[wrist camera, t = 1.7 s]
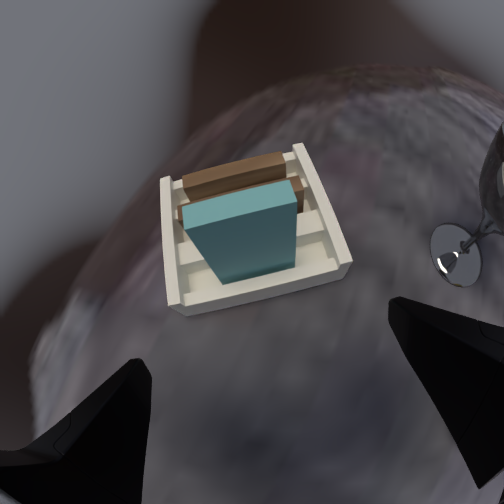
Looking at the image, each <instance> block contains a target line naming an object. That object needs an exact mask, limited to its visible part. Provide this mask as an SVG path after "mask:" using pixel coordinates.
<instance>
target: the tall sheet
mask: <svg viewBox="0 0 504 504" xmlns="http://www.w3.org/2000/svg"><path fill="white" fill-rule="evenodd" d="M182 214H183V224H184V230H185V232H186V233H187V235H188V236H189V238H190V239H191V241H192V242H193V244H194V245H195V246H196V248H197V249H198V251H199V252H200V254H201V255H202V256H203V258H204V259H205V261H206V262H207V264H208V265H209V266H210V268H211V269H212V271H213V272H214V273H215V275H216V276H217V278H218V279H219V280H220V282H221V283H222V285H226V284H230V283H234V282H238V281H242V280H247V279H251V278H255V277H259V276H263V275H267V274H271V273H275V272H279V271H283V270H287V269H291V268H295V258H296V232H297V199H296V196H295V194H294V191H293V188H292V186H291V183H290V180H285V181H281V182H276V183H272V184H268V185H263V186H259V187H255V188H251V189H247V190H243V191H239V192H235V193H231V194H227V195H223V196H219V197H215V198H212V199H208V200H204V201H201V202H197V203H193V204H190V205H186V206H183V207H182Z"/></svg>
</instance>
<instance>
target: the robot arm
mask: <svg viewBox="0 0 504 504" xmlns="http://www.w3.org/2000/svg"><path fill="white" fill-rule="evenodd" d="M388 321H389V324H390V326H391V328H392V330H393V332H394V334H395V336H396V338H397V340H398V342H399V345H400V347H401V349H402V351H403V353H404V355H405V357H406V358H407V360H408V362H409V363H410V365H411V366H412V368H413V369H414V371H415V373H416V374H417V376H418V378H419V379H420V381H421V382H422V384H423V386H424V387H425V389H426V391H427V392H428V394H429V396H430V397H431V399H432V401H433V403H434V404H435V406H436V408H437V409H438V411H439V413H440V415H441V417H442V418H443V420H444V422H445V424H446V426H447V427H448V429H449V431H450V433H451V435H452V437H453V438H454V440H455V442H456V444H457V446H458V448H459V450H460V452H461V454H462V456H463V458H464V460H465V462H466V464H467V466H468V468H469V470H470V473H471V475H472V477H473V479H474V481H475V483H476V485H477V487H478V489H481V488H482V487H483V486H485V485H486V484H487V483H489V482H490V481H491V480H493V479H494V478H495V477H496V476H498V475H499V474H500V473H501V472H503V471H504V327H500V326H496V325H492V324H489V323H485V322H482V321H479V320H478V321H477V320H476V319H472V318H469V317H466V316H463V315H459V314H456V313H453V312H449V311H446V310H443V309H440V308H436V307H433V306H430V305H427V304H423V303H420V302H417V301H413V300H410V299H407V298H404V297H400V296H399V297H396V298H393V299H390V301H389V307H388ZM151 390H152V377H151V374H150V372H149V370H148V369H147V367H146V365H145V364H144V362H143V360H142V359H140V358H135V359H130V360H129V361H128V362H127V363H125V364H124V365H123V366H122V367H121V368H120V369H119V370H118V371H116V372H115V373H114V374H113V375H112V376H111V377H110V378H108V379H107V380H106V381H105V382H104V383H103V384H102V385H100V386H99V387H98V388H97V389H96V390H95V391H94V392H92V393H91V394H90V395H89V396H88V397H87V398H86V399H84V400H83V401H82V402H81V403H80V404H79V405H78V406H77V407H75V408H74V409H73V410H72V411H71V412H70V413H68V414H67V415H66V416H65V417H64V418H63V419H62V420H60V421H59V422H58V423H57V424H56V425H54V426H53V427H52V428H50V429H49V430H48V431H47V432H45V433H44V434H42V435H41V436H40V437H38V438H37V439H36V440H34V441H33V442H32V443H30V444H29V445H27V446H26V447H24V448H22V449H19V450H0V504H141V502H142V488H143V475H144V465H145V455H146V446H147V438H148V430H149V422H150V414H151ZM498 504H504V489H503V492H502V495H501V498H500V501H499V503H498Z"/></svg>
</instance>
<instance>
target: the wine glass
mask: <svg viewBox="0 0 504 504" xmlns="http://www.w3.org/2000/svg"><path fill="white" fill-rule="evenodd" d="M479 193H480V200H481V206H482V220H481V222H480V224H479V226H478V227H477V229H476V230H475V232H474V233H473V234H471V233H470V232H469V231H468V230H467V229H466V228H464V227H463V226H461V225H459V224H456V223H444V224H441V225H439V226H438V227H437V228H436V229H435V230H434V232H433V234H432V236H431V240H430V252H431V257H432V260H433V263H434V265H435V267H436V269H437V270H438V272H439V273H440V274H441V276H442V277H443V278H444V279H445V280H446V281H448V282H449V283H451V284H452V285H455V286H458V287H468V286H471V285H472V284H474V283H475V282H476V281H477V280H478V278H479V276H480V274H481V271H482V264H483V260H482V253H481V250H480V247H479V245H478V243H477V241H479V240H480V239H482V238H483V237H485V236H487V235H488V234H492V233H496V234H499V235H502V236H504V121H503V122H502V124H501V126H500V127H499V129H498V131H497V133H496V135H495V137H494V139H493V141H492V143H491V145H490V147H489V150H488V152H487V155H486V157H485V160H484V164H483V167H482V170H481V174H480V179H479Z"/></svg>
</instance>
